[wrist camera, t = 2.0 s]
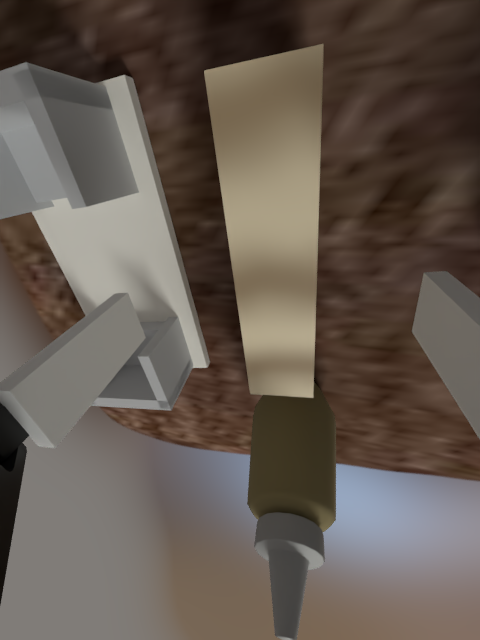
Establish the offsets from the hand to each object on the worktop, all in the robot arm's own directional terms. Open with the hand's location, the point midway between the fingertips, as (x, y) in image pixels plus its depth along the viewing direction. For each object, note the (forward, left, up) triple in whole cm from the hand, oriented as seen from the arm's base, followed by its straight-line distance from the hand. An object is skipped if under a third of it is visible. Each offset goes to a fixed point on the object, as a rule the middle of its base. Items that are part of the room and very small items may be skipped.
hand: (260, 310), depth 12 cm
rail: (0, 0, -11) cm, 11 cm away
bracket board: (+10, -11, -11) cm, 18 cm away
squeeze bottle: (+13, +11, -11) cm, 20 cm away
